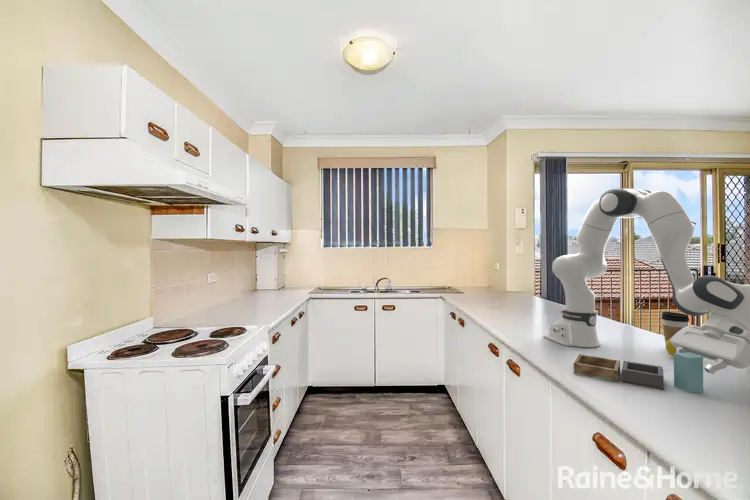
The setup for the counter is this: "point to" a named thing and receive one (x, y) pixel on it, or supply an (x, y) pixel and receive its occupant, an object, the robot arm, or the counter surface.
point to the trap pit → (643, 374)
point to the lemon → (670, 348)
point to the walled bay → (597, 367)
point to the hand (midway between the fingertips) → (691, 366)
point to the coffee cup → (673, 323)
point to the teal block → (688, 372)
